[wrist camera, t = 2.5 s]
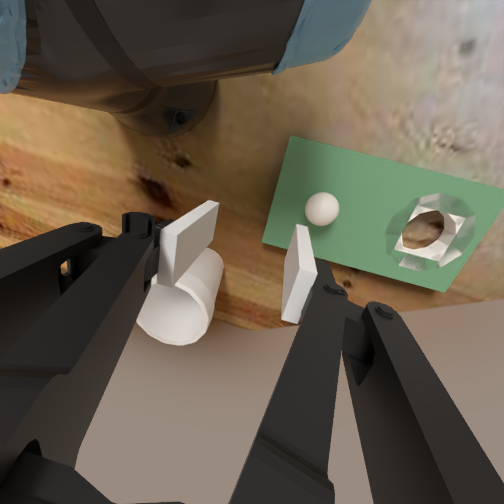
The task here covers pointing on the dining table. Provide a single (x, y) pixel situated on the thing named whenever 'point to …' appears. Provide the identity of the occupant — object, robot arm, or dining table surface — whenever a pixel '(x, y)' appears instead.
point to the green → (380, 212)
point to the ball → (321, 209)
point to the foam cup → (183, 302)
